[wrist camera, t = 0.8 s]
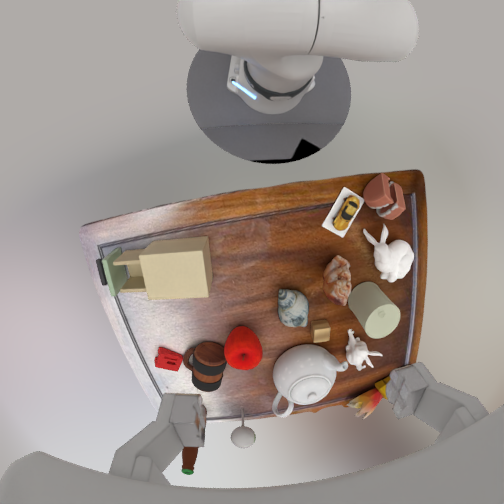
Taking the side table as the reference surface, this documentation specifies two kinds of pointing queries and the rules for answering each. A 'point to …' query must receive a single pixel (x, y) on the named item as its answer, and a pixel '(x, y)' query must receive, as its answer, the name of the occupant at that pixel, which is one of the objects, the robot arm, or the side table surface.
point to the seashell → (292, 308)
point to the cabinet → (177, 268)
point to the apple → (243, 349)
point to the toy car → (343, 212)
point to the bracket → (168, 359)
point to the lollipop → (243, 435)
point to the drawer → (122, 271)
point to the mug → (206, 365)
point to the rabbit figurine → (358, 352)
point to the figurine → (337, 280)
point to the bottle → (189, 458)
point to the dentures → (384, 197)
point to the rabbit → (391, 256)
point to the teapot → (304, 375)
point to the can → (373, 310)
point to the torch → (370, 398)
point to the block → (320, 331)
